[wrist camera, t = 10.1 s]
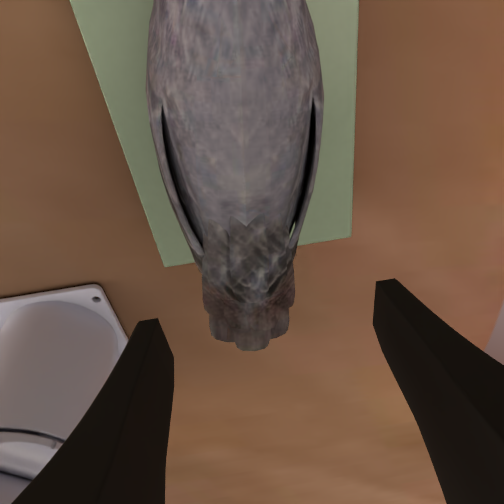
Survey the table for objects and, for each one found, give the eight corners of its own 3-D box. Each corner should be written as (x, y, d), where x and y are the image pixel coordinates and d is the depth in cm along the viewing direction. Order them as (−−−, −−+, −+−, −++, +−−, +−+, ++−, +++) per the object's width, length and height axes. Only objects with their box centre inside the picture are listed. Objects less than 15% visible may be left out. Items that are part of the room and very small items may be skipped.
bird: (309, -302, 10) (467, -675, 4) (293, 225, 20) (331, 343, 14) (92, -299, 10) (-87, -696, 4) (185, 234, 19) (177, 359, 14)
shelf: (336, 207, 23) (351, 237, 21) (168, 235, 23) (164, 268, 21) (338, -352, 11) (374, -434, 9) (-4, -294, 11) (-60, -359, 9)
